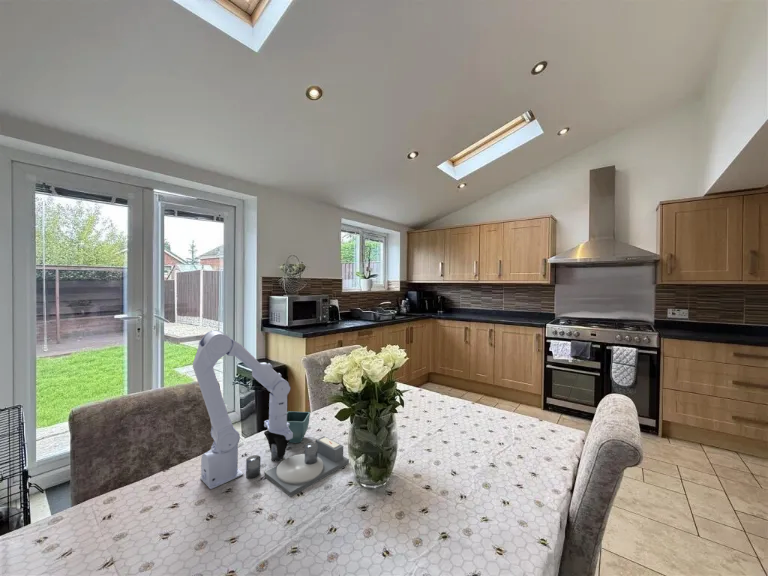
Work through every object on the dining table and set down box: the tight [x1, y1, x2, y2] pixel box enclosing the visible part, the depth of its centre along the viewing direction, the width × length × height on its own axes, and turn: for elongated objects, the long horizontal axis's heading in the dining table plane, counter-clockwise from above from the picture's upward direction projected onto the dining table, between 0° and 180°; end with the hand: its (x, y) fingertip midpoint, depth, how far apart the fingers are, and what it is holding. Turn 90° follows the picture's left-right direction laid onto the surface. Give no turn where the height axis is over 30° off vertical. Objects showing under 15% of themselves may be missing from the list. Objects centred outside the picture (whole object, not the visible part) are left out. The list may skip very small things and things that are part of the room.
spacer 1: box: [245, 454, 261, 480], centre depth 96 cm, size 4×4×5 cm
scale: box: [263, 435, 350, 497], centre depth 99 cm, size 22×14×6 cm, turn 140°
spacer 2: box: [270, 441, 285, 462], centre depth 106 cm, size 4×4×5 cm
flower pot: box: [287, 410, 311, 444], centre depth 118 cm, size 9×9×9 cm
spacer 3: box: [304, 442, 318, 465], centre depth 100 cm, size 4×4×5 cm
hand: (277, 453), depth 106 cm, fingers closed on spacer 2, 4 cm apart
